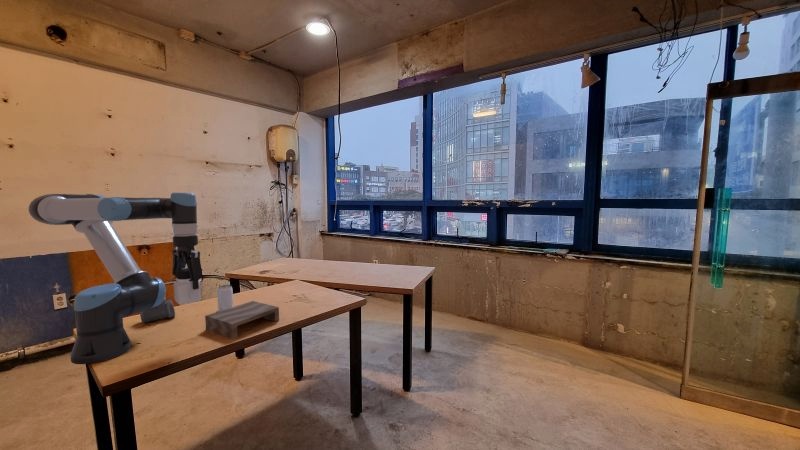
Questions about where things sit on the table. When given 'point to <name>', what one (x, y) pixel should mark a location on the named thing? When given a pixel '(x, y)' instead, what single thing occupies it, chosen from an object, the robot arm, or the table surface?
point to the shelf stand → (239, 317)
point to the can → (225, 297)
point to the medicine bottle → (184, 288)
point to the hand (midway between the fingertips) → (187, 295)
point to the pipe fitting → (158, 312)
